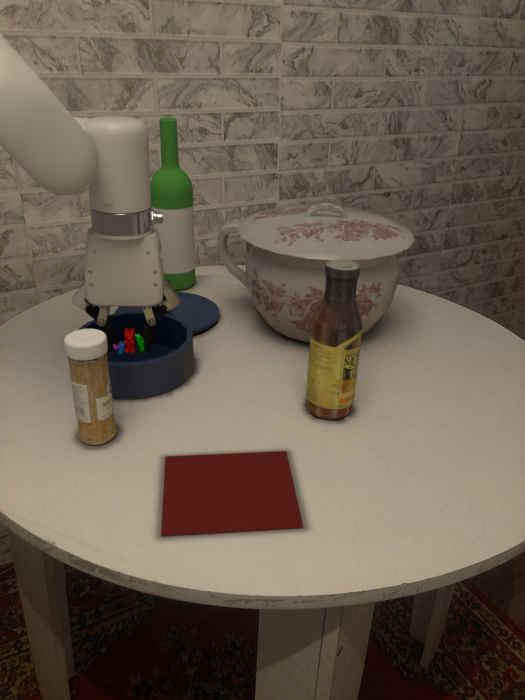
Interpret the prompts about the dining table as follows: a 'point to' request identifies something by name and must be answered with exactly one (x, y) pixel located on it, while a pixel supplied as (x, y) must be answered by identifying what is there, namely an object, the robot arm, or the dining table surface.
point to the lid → (188, 310)
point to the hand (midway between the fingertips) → (129, 346)
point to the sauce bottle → (335, 344)
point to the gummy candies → (129, 342)
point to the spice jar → (91, 385)
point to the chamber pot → (315, 261)
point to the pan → (149, 356)
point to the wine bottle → (174, 210)
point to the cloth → (228, 494)
